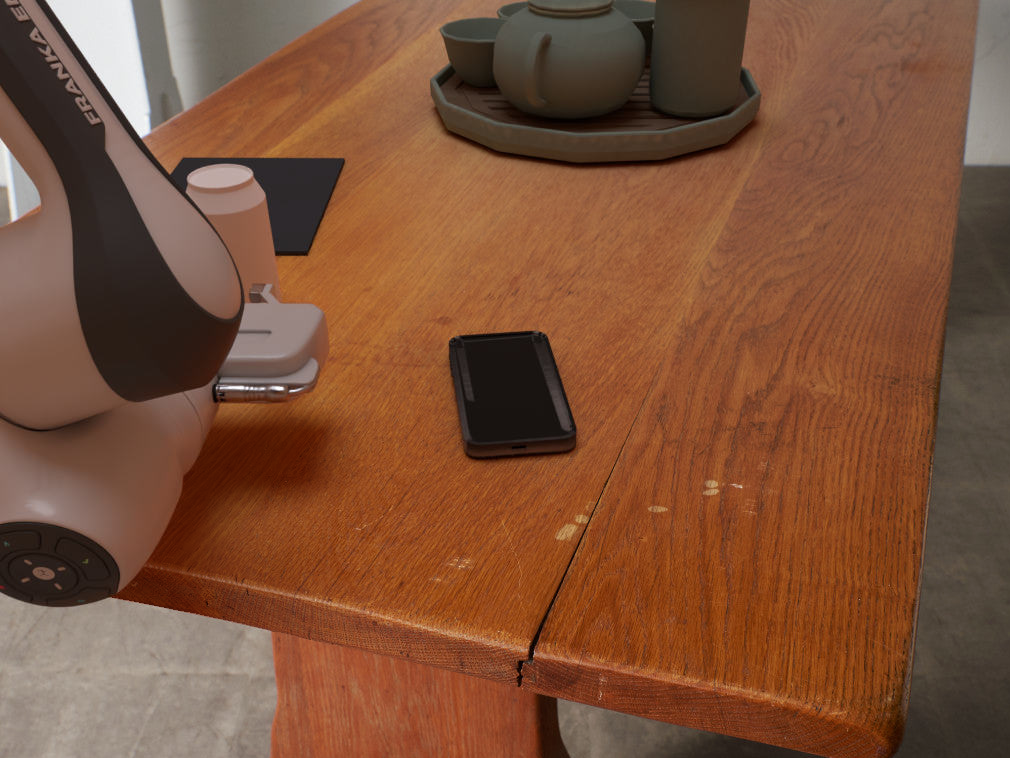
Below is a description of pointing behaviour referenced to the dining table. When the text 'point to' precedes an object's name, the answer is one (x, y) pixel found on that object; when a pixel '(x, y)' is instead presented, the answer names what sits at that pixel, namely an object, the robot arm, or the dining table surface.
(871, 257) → the dining table surface
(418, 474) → the dining table surface
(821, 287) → the dining table surface
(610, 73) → the tea set
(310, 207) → the mat
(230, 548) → the dining table surface
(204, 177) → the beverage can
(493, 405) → the phone
